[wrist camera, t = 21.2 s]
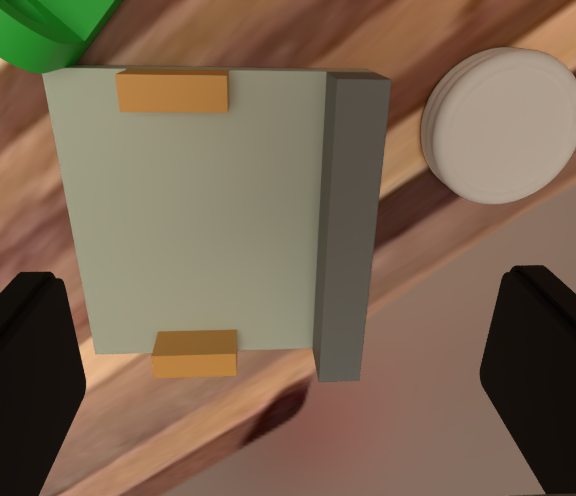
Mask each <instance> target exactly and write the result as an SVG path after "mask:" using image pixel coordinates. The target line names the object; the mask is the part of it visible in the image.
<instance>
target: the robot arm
mask: <svg viewBox="0 0 576 496" xmlns="http://www.w3.org/2000/svg"><path fill="white" fill-rule="evenodd" d="M480 381H481V384H482V386H483V388H484V390H485V392H486V393H487V395H488V397H489V398H490V400H491V402H492V404H493V405H494V407H495V408H496V410H497V412H498V414H499V415H500V417H501V419H502V420H503V422H504V424H505V425H506V427H507V429H508V431H509V432H510V434H511V436H512V437H513V439H514V441H515V442H516V444H517V446H518V448H519V449H520V451H521V453H522V454H523V456H524V458H525V459H526V461H527V463H528V464H529V466H530V468H531V470H532V471H533V473H534V475H535V476H536V478H537V480H538V481H539V483H540V485H541V486H542V488H543V490H544V491H545V493H546V494H542V495H511V496H576V294H575V293H574V292H573V291H572V290H571V289H570V288H569V287H567V286H566V285H565V284H564V283H563V282H562V281H561V280H560V279H559V278H557V277H556V276H555V275H554V274H553V273H552V272H551V271H550V270H548V269H547V268H546V267H545V266H543V265H528V266H514V267H512V269H511V270H510V272H506V273H505V274H504V275H503V277H502V280H501V284H500V288H499V293H498V296H497V301H496V305H495V309H494V313H493V317H492V321H491V325H490V330H489V334H488V338H487V342H486V346H485V350H484V354H483V359H482V363H481V367H480ZM85 390H86V378H85V373H84V369H83V364H82V360H81V355H80V351H79V347H78V342H77V338H76V333H75V329H74V324H73V320H72V315H71V311H70V306H69V302H68V297H67V293H66V288H65V284H64V282H63V280H62V279H60V278H55V276H54V274H53V273H52V272H20V273H19V274H17V276H16V277H15V278H14V279H13V280H12V281H11V282H10V283H9V284H8V285H7V286H6V287H5V289H4V290H3V291H2V292H1V293H0V496H39V494H40V491H41V489H42V487H43V485H44V483H45V480H46V478H47V476H48V474H49V472H50V470H51V467H52V465H53V463H54V461H55V459H56V456H57V454H58V452H59V450H60V448H61V446H62V443H63V441H64V439H65V437H66V435H67V433H68V430H69V428H70V426H71V424H72V422H73V419H74V417H75V415H76V413H77V411H78V409H79V406H80V404H81V402H82V400H83V398H84V395H85Z"/></svg>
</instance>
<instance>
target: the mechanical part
mask: <svg viewBox="0 0 576 496" xmlns="http://www.w3.org/2000/svg"><path fill="white" fill-rule="evenodd" d="M122 1H123V0H0V58H1V59H3V60H5V61H7V62H9V63H11V64H13V65H15V66H17V67H19V68H22V69H24V70H27V71H30V72H34V73H39V74H44V73H48V72H52V71H55V70H59V69H62V68H66V67H70V66H73V65H76V64H77V62H78V61H79V59H80V58H81V57H82V55H83V54H84V53H85V51H86V50H87V49H88V47H89V46H90V44H91V43H92V42H93V40H94V39H95V38H96V36H97V35H98V34H99V32H100V31H101V29H102V28H103V27H104V25H105V24H106V23H107V21H108V20H109V19H110V17H111V16H112V14H113V13H114V12H115V10H116V9H117V8H118V6H119V5H120V4H121V2H122Z"/></svg>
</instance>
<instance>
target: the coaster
mask: <svg viewBox="0 0 576 496" xmlns="http://www.w3.org/2000/svg"><path fill="white" fill-rule="evenodd" d="M420 136H421V145H422V150H423V154H424V157H425V159H426V162H427V164H428V166H429V167H430V169H431V171H432V172H433V173H434V174H435V175H436V177H437V178H438V179H440V180H441V181H442V182H443V183H444V184H445V185H447V186H448V187H449V188H450V189H451V190H452V191H454V192H455V193H456V194H458V195H459V196H461V197H463V198H465V199H467V200H470V201H473V202H477V203H483V204H503V203H509V202H513V201H516V200H519V199H522V198H525V197H527V196H529V195H531V194H533V193H534V192H536V191H538V190H539V189H541V188H542V187H544V186H545V185H546V184H548V183H549V182H550V181H551V180H552V179H553V178H554V177H555V176H557V174H558V173H559V172H560V171H561V170H562V169H563V168H564V166H565V165H566V163H567V162H568V161H569V159H570V157H571V156H572V154H573V152H574V150H575V148H576V78H575V77H574V75H573V74H572V72H571V71H570V70H569V69H568V68H567V67H566V66H565V65H564V64H563V63H562V62H560V61H559V60H558V59H557V58H555V57H553V56H551V55H549V54H547V53H544V52H541V51H537V50H530V49H521V48H513V47H499V48H492V49H488V50H485V51H482V52H479V53H477V54H474V55H472V56H470V57H469V58H467V59H465V60H463V61H462V62H460V63H459V64H457V65H456V66H455V67H453V68H452V69H451V70H450V71H449V72H448V73H447V74H446V75H445V76H444V77H443V78H442V79H441V80H440V81H439V83H438V84H437V86H436V87H435V88H434V90H433V92H432V93H431V95H430V97H429V99H428V101H427V104H426V106H425V109H424V113H423V116H422V122H421V135H420Z"/></svg>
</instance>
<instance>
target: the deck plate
mask: <svg viewBox="0 0 576 496" xmlns="http://www.w3.org/2000/svg"><path fill="white" fill-rule="evenodd" d="M42 75H43V80H44V86H45V91H46V96H47V101H48V107H49V112H50V117H51V122H52V128H53V133H54V138H55V143H56V149H57V154H58V159H59V164H60V170H61V175H62V180H63V186H64V191H65V196H66V201H67V207H68V212H69V217H70V222H71V228H72V233H73V238H74V243H75V249H76V254H77V259H78V264H79V270H80V275H81V280H82V285H83V291H84V296H85V301H86V306H87V312H88V317H89V322H90V327H91V333H92V338H93V343H94V348H95V354H128V353H152V355H151V358H152V366H153V374H154V378H180V377H210V376H237V351H238V350H266V349H301V348H312V349H313V354H314V359H315V365H316V370H317V375H318V380H319V382H337V381H359V379H360V369H361V360H362V351H363V342H364V332H365V323H366V314H367V305H368V296H369V286H370V277H371V268H372V258H373V249H374V240H375V230H376V221H377V212H378V203H379V193H380V184H381V175H382V165H383V156H384V147H385V137H386V128H387V119H388V109H389V100H390V91H391V82H392V80H391V79H389V78H386V77H384V76H382V75H380V74H377V73H375V72H373V71H370V70H368V69H322V68H252V67H182V66H112V65H73V66H70V67H66V68H62V69H59V70H55V71H52V72H48V73H44V74H42Z"/></svg>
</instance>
